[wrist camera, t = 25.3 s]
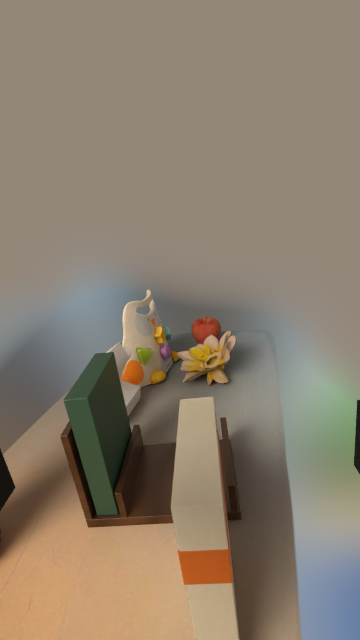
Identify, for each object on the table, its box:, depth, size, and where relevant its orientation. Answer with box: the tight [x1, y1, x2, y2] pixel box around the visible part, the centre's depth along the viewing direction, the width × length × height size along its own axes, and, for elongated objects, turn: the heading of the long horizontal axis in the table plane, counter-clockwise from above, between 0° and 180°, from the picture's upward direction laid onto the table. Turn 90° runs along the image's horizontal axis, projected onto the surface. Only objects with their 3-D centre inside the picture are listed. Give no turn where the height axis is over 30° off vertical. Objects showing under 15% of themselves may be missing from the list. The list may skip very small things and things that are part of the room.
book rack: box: [60, 417, 241, 527], centre depth 41 cm, size 18×12×13 cm, turn 87°
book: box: [171, 397, 240, 640], centre depth 26 cm, size 3×11×18 cm, turn 177°
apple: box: [192, 317, 221, 345], centre depth 82 cm, size 7×7×8 cm
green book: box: [64, 352, 132, 515], centre depth 41 cm, size 3×11×16 cm, turn 177°
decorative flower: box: [177, 331, 236, 386], centre depth 68 cm, size 15×11×10 cm
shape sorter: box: [120, 290, 180, 387], centre depth 71 cm, size 20×10×18 cm, turn 162°
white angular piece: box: [106, 342, 140, 416], centre depth 57 cm, size 8×14×14 cm, turn 164°
